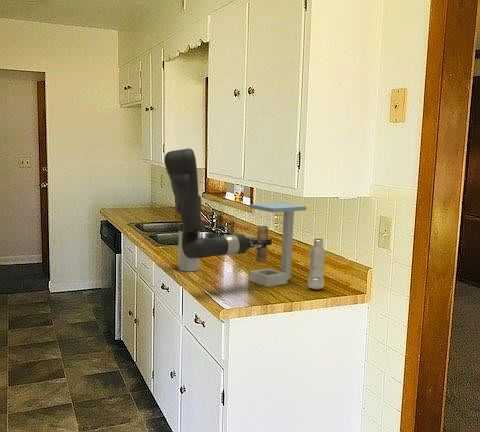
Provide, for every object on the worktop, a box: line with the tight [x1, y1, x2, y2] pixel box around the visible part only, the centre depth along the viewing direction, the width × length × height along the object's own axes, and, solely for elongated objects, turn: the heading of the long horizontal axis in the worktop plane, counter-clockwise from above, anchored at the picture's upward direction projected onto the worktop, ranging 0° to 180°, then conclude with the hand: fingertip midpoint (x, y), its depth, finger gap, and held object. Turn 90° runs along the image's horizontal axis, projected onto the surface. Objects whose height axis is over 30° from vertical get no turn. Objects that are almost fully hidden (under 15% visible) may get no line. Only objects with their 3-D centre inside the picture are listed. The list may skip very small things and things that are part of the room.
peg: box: [255, 225, 269, 264], centre depth 207 cm, size 4×4×14 cm
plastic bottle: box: [307, 238, 327, 290], centre depth 206 cm, size 6×7×20 cm
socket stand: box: [249, 202, 307, 288], centre depth 215 cm, size 18×14×32 cm
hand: (267, 241), depth 208 cm, fingers closed on peg, 4 cm apart
